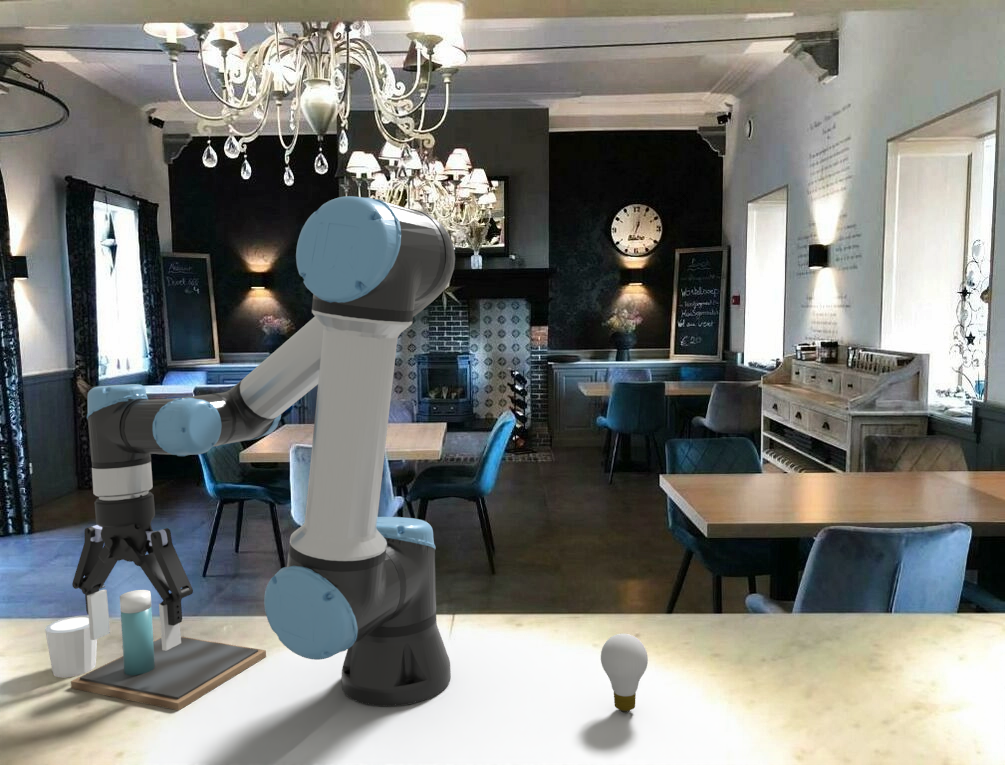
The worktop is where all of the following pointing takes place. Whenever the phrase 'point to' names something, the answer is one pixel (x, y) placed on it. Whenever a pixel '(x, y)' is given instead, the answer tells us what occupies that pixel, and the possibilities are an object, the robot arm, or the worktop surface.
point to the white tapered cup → (71, 646)
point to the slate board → (172, 673)
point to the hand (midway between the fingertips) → (135, 641)
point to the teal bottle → (137, 632)
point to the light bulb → (624, 668)
